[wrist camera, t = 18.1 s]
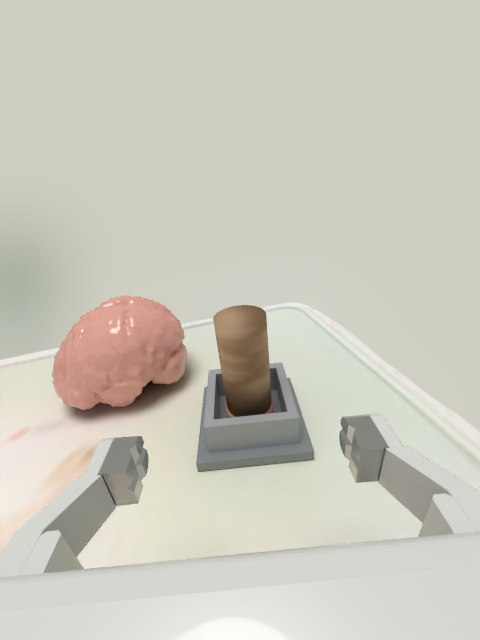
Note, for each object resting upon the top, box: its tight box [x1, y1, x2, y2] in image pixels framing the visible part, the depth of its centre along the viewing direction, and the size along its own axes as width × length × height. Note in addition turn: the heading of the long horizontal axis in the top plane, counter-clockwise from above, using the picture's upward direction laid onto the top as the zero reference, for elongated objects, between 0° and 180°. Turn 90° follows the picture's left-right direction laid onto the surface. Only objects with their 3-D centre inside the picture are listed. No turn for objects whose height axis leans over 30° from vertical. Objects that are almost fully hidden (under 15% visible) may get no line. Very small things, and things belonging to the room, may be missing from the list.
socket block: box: [196, 363, 314, 472], centre depth 28 cm, size 10×10×4 cm
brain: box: [52, 296, 187, 410], centre depth 34 cm, size 16×13×12 cm
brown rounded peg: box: [213, 305, 273, 418], centre depth 26 cm, size 5×5×11 cm
